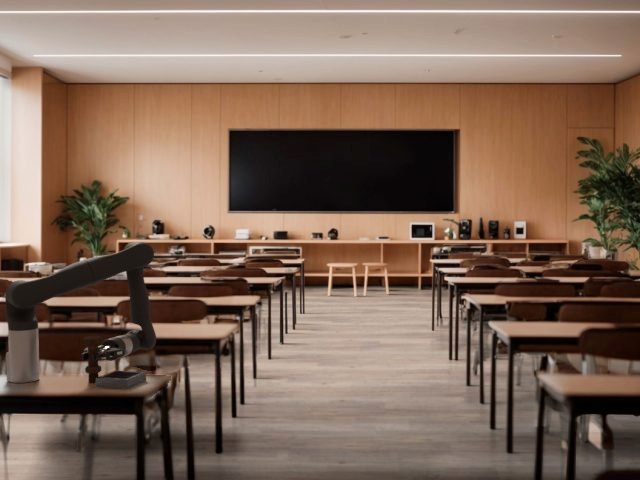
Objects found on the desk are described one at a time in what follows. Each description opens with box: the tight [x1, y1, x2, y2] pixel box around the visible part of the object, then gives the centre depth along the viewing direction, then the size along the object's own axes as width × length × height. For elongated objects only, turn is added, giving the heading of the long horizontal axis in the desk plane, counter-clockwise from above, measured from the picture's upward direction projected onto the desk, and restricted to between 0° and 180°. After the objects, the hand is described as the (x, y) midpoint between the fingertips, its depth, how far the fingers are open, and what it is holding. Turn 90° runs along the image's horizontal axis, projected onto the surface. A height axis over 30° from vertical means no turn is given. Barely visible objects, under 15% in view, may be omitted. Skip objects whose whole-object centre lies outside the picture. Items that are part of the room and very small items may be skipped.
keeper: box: [95, 370, 147, 390], centre depth 228 cm, size 11×11×3 cm
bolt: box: [82, 335, 103, 384], centre depth 230 cm, size 6×5×15 cm
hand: (87, 357), depth 228 cm, fingers closed on bolt, 3 cm apart
